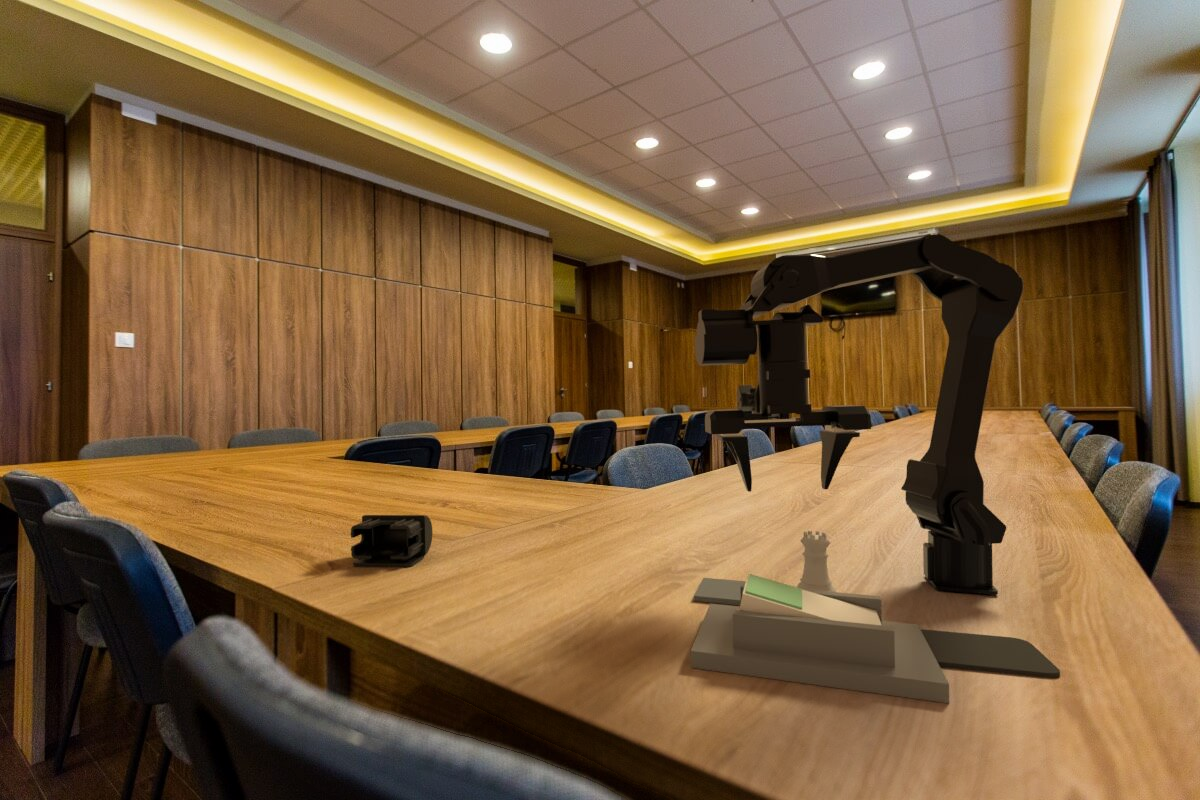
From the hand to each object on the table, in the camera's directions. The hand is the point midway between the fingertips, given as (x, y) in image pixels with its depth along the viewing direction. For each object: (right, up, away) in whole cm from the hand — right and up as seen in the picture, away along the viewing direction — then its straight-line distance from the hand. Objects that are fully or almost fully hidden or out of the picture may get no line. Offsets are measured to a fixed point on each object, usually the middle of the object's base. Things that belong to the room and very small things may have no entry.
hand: (786, 490), depth 70 cm
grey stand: (-3, -13, -17) cm, 21 cm away
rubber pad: (-7, -13, -1) cm, 15 cm away
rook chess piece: (+2, -13, -4) cm, 13 cm away
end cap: (-54, -14, +16) cm, 58 cm away
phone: (+10, -13, -17) cm, 23 cm away
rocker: (-4, -9, -17) cm, 19 cm away
